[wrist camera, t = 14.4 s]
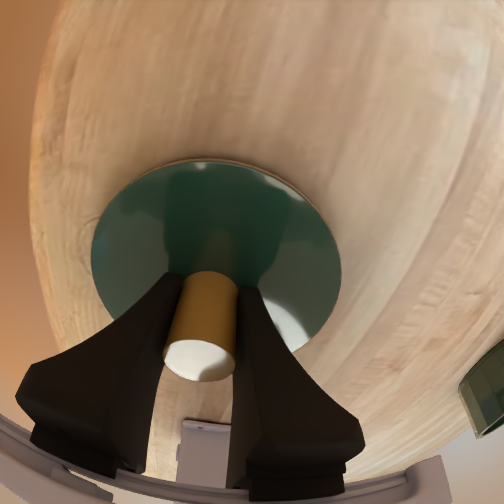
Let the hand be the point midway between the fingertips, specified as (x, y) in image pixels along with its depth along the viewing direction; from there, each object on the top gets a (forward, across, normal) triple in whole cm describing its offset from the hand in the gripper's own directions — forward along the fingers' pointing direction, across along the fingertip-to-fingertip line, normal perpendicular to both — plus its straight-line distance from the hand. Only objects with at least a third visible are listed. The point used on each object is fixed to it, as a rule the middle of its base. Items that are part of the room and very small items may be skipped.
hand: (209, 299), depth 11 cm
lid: (+1, 0, 0) cm, 1 cm away
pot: (+1, -30, +7) cm, 30 cm away
